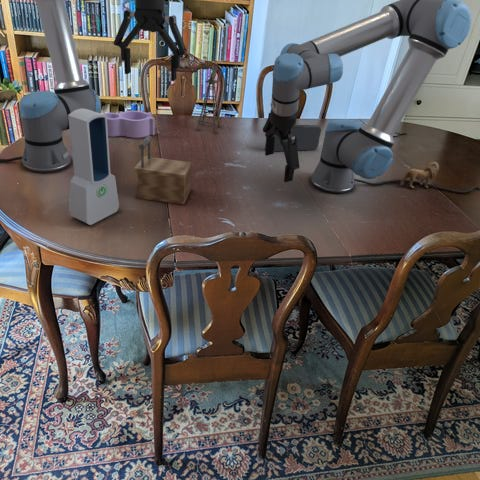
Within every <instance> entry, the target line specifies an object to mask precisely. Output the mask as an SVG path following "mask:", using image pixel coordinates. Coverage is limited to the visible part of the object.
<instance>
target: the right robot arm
mask: <svg viewBox="0 0 480 480" xmlns="http://www.w3.org/2000/svg"><path fill="white" fill-rule="evenodd" d="M471 15H472V13H471V10H470V8H469V6H468V5H467V4H466V3H465V2H463V1H460V0H397V1H393V2H391V3H389V4H387V5H384V6H382V8H381V9H380V10H379V11H378V12H377V13H374V14H371V15H369V16H367V17H364V18H362V19H359V20H357V21H355V22H352V23H350V24H348V25H345V26H342V27H340V28H337V29H335V30H333V31H330V32H328V33H325V34H323V35H320V36H318V37H316V38H313V39H311V40H307V41H306V42H303V43H300V44H299V43H295V42H293V43H287V44H286V45H284V46H283V48H282V49H281V51H280V54H279V55H278V56H276V58H275V60H274V64H273V70H272V87H271V101H270V111H269V112H268V114H267V115H268V116H267V120H266V121H265V124H264V125H263V128H262V132H263V133H264V136H265V145H266V147H265V150H264V155H265V157H266V156H271V155H274V153H275V151H274V142H275V137H274V136H273V135H275V134H276V135H277V136H278V137H279V139H280V143H281V145H282V146H283V149H284V151H283V154H284V157H285V163H286V164H285V167H284V175H283V183H284V184H285V183H289V182H292V181H293V180H294V175H295V170H298V169H300V159H299V158H300V157H299V150H298V149H297V136H296V135H295V136H293V135H292V132H291V128H292V127H293V126H294V125H296V123H297V117H298V110H299V109H298V108H299V103H300V102H299V101H300V94H301V91H305V90H309V89H314V88H319V87H322V86H327V85H328V86H329V85H331V84H334V83H336V82H339V81H340V80H341V79H342V77H343V74H344V64H343V60H342V58H341V57H343V56H345V55H348V54H350V53H353V52H355V51H358V50H360V49H363V48H366V47H367V46H370V45H372V44H375V43H377V42H379V41H382V40H384V39H389V40H394V39H396V38H398V37H408V38H407V43H408V49H407V51H406V52H405V55H404V56H403V58H402V60H401V62H400V64H399V65H398V67H397V69H396V71H395V73H394V75H393V76H392V78H391V80H390V82H389V84H388V86H387V87H386V89H385V91H384V93H383V94H382V97H381V98H380V100H379V102H378V104H377V106H376V107H375V110H374V111H373V113H372V115H371V116H370V119H369V120H368V121H367V123H366V124H363V123H362V122H360V121H358V120H352V119H345V118H344V119H340V118H339V119H337V118H336V119H332V120H330V121H328V122H327V124H326V127H325V130H324V137H323V141H322V143H323V144H322V148H321V153H320V158H319V161H318V163H317V165H316V166H315V168H314V169H313V170H314V171H313V172H312V174H311V176H310V177H311V178H310V183H311V185H312V186H314V188H316V189H318V190H320V191H323V192H326V193H331V194H347V193H349V192H352V191H353V189H354V188H355V187H354V186H355V182H357V183H362V184H365V185H370V186H379V185H384V184H391V183H399V182H401V180H402V179H392V180H383V181H380V182H369V181H366V180H372V179H373V180H374V179H376V178H377V177H380V176H383V174H385V173H386V172H387V171H388V170H389V169H390V167H391V166H392V164H393V160H394V157H393V156H394V154H393V151H392V148H393V146H394V145H395V140H394V136H393V135H394V133H396V131H397V129H398V128H399V126H400V124H401V122H402V121H403V120H404V117H405V115H406V114H407V112H408V111H409V109H410V107H411V105H412V103H413V101H415V99H416V96H417V95H418V93H419V91H420V89H421V88H422V87H423V84H424V82H425V81H426V79H427V78H428V76H429V74H430V72H431V71H432V68H433V67H434V65H435V64H436V62H437V61H438V60H440V59H443V58H445V57H446V56H447V54H448V52H449V50H451V49H455V48H457V47H458V46H460V45H462V43H463V42H465V40H466V38H467V37H468V35H469V32H470V29H471V26H472V18H471ZM272 136H273V137H272ZM287 139H288V140H287ZM283 140H287V141H286V142H283ZM354 174H355V175H357V176H359V177H360V178H362V179H357V178H355V176H354ZM363 179H365V180H363ZM409 182H410V179H406V180H404V182H403V183H409ZM425 183H426V182H423V184H422V185H421V186H425ZM412 184H416V185H420V181H416V180H414V181H413V183H412ZM427 186H428V187H431V188H434V189H437V190H442V191H446V192H451V193H458V194H468V193H470V192H472V191H474V190H475V189H477V190H478V191H480V187H479V185H474V186H473V187H471V188H470V189H467V190H468V191H467V190H457V189H451V188H446V187H442V186H438V185H434V184H430V183H428V185H427ZM478 187H479V188H478Z"/></svg>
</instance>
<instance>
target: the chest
mask: <svg viewBox="0 0 480 480" xmlns="http://www.w3.org/2000/svg"><path fill="white" fill-rule="evenodd" d="M136 173H137V174H136V175H137V198H138V199H142V200H150V201H155V202H156V201H157V202H163V203H170V204H178V205H185V203H186V201H187V199H188V197H189V195H190V193H191V191H192V189H191V188H192V166H191V168H190V169H189V171H188V173H187V175H186V177H185V179H183V178H176V177H169V176H162V175H155V174H148V173H141V172H136Z"/></svg>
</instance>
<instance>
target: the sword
mask: <svg viewBox="0 0 480 480" xmlns="http://www.w3.org/2000/svg"><path fill="white" fill-rule="evenodd" d="M404 134H406V133H402V134H400V132H395V133H394V135H393V137H394V136H395V137H398V136H399V135H404Z"/></svg>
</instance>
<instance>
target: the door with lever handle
mask: <svg viewBox="0 0 480 480" xmlns="http://www.w3.org/2000/svg"><path fill="white" fill-rule="evenodd" d="M152 140H153V136H152V135H148V136H146V137H144V139H143V140H142V141H141V142H140V144H138V148H139V150H140V160H139V162H137V164H136V165H135V166H134V168H133V172H134V173H137V172H141V173H148V174H155V175H162V176H169V177H176V178H183V179H185V177H186V175H187V173H188V171H189V169H190V168H191V169H192V167H191V166H192V165H193V163H192V162H190V161H183V160H176V159H169V158H161V157H155V156H151V142H152ZM146 148H147V155H145V149H146Z"/></svg>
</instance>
